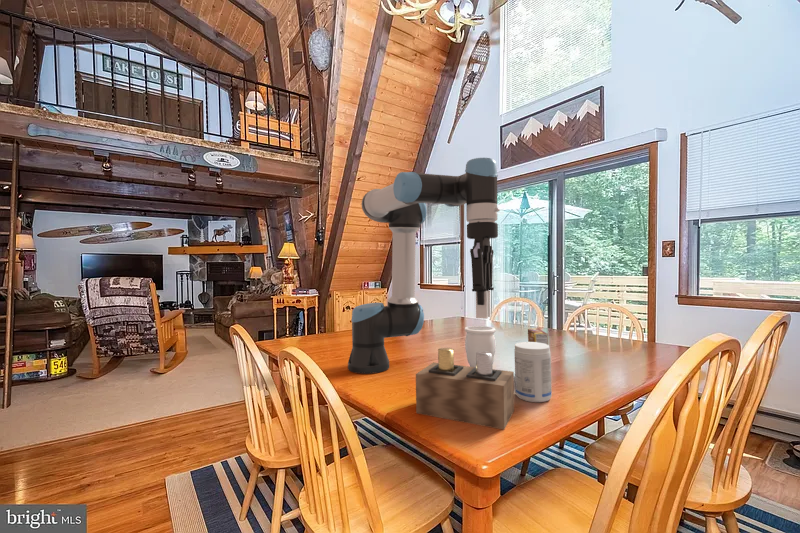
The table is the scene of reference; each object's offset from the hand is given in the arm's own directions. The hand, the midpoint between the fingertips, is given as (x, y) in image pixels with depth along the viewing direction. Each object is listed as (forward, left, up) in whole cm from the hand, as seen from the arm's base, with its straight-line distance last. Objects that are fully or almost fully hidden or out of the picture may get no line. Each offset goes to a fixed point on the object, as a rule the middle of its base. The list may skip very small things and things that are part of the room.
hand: (483, 317), depth 93 cm
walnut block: (-5, 0, -24) cm, 25 cm away
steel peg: (0, 0, -19) cm, 19 cm away
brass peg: (-10, 0, -19) cm, 21 cm away
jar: (-11, +37, -25) cm, 46 cm away
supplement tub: (+9, +18, -25) cm, 32 cm away
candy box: (+8, +38, -25) cm, 46 cm away
